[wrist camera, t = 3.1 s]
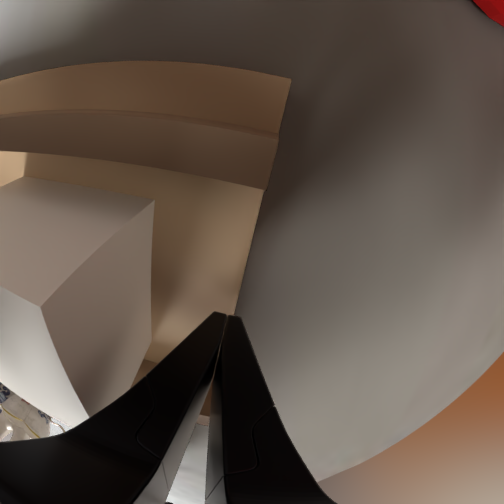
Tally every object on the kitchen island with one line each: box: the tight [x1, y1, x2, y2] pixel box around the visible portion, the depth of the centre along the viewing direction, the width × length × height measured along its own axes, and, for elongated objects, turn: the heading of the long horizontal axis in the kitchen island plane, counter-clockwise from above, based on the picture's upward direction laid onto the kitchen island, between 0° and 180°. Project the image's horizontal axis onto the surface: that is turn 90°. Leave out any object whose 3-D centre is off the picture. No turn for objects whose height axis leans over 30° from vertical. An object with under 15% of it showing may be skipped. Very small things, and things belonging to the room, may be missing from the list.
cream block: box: [0, 176, 155, 428], centre depth 7 cm, size 6×6×5 cm
